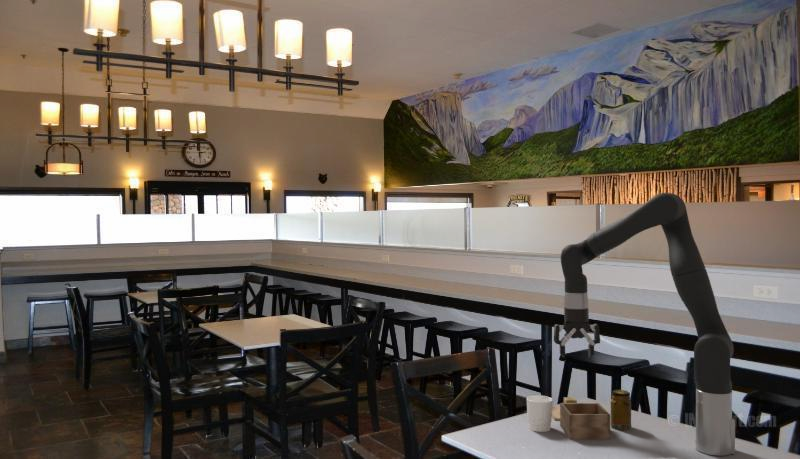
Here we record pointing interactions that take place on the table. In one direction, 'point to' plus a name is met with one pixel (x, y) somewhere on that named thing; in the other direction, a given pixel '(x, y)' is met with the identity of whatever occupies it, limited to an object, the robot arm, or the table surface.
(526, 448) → the table surface
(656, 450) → the table surface
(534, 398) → the white cup
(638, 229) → the robot arm
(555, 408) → the lid
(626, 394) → the condiment
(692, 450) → the table surface
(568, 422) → the box
